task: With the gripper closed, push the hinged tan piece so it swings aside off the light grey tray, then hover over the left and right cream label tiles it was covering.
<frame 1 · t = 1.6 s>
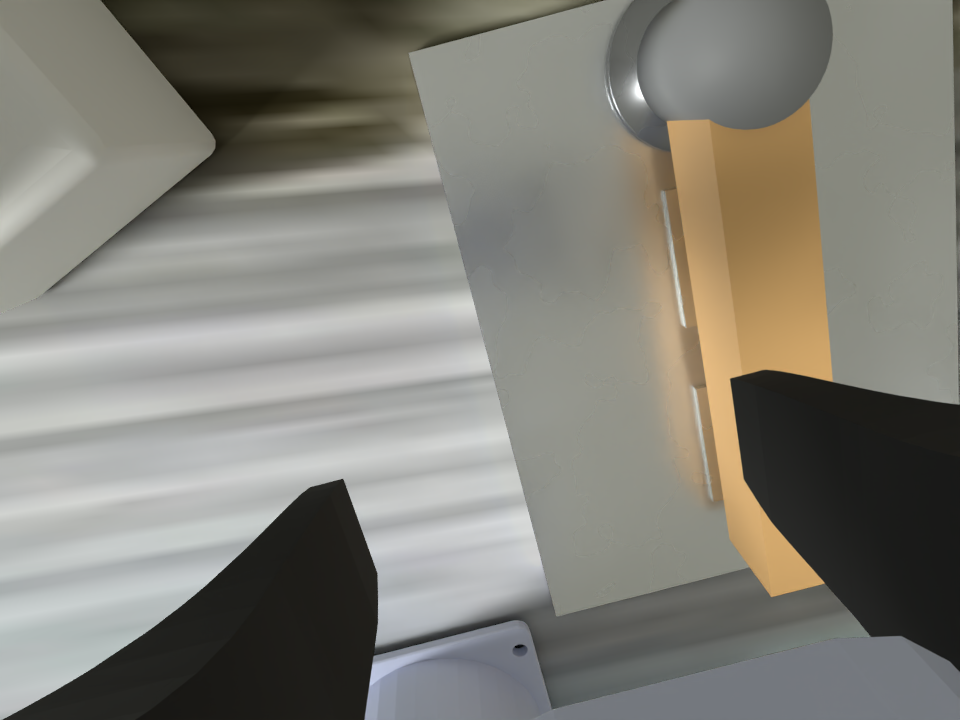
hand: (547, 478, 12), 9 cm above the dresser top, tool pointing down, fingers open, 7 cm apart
medicine bottle: (29, 115, 18), on the dresser top
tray: (715, 310, 21), on the dresser top
tan piece: (755, 309, 18), point 3 cm above the dresser top, hinge at 0.0°
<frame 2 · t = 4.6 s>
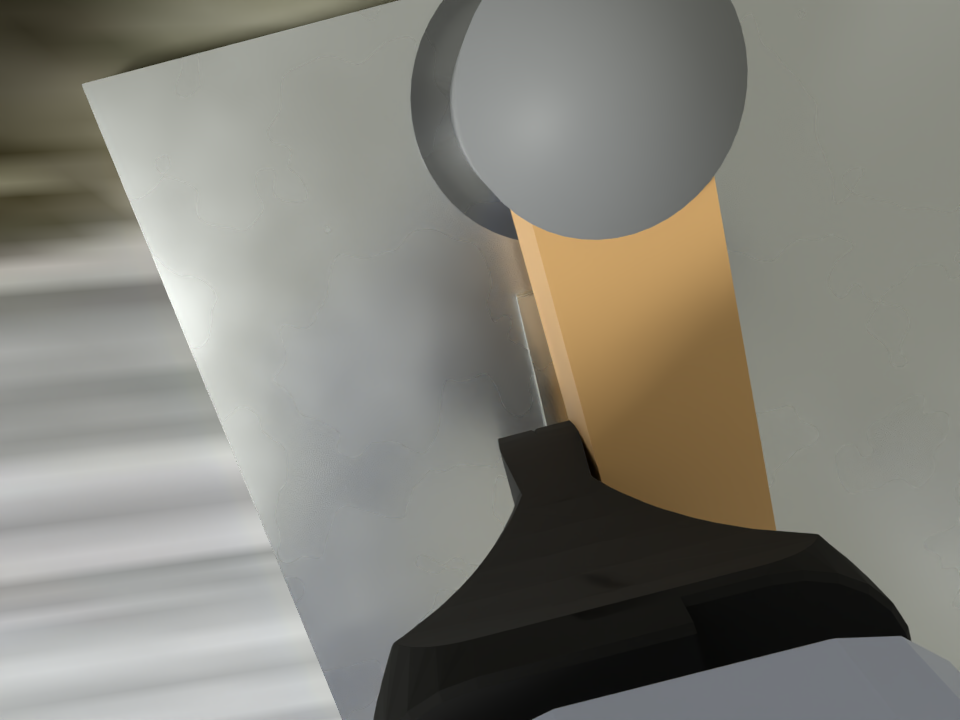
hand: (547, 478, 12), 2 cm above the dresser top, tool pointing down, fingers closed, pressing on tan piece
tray: (612, 459, 14), on the dresser top
tan piece: (667, 494, 11), point 3 cm above the dresser top, hinge at 2.9°, touching gripper
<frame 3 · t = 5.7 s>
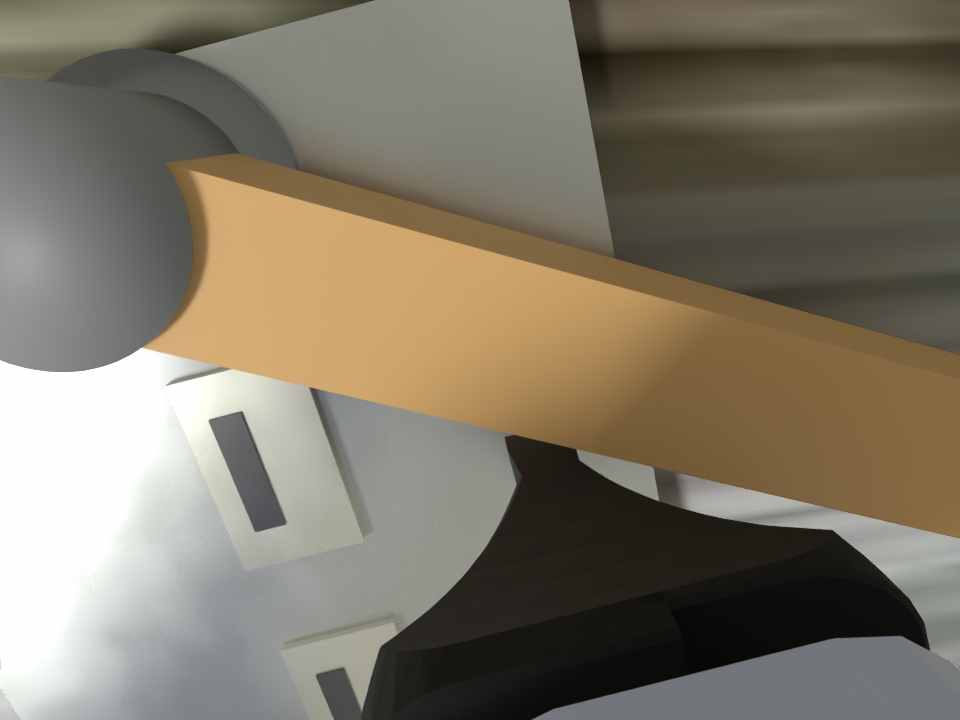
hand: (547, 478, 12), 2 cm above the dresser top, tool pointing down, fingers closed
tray: (311, 533, 14), on the dresser top
tan piece: (549, 331, 10), point 3 cm above the dresser top, hinge at 60.3°, touching gripper
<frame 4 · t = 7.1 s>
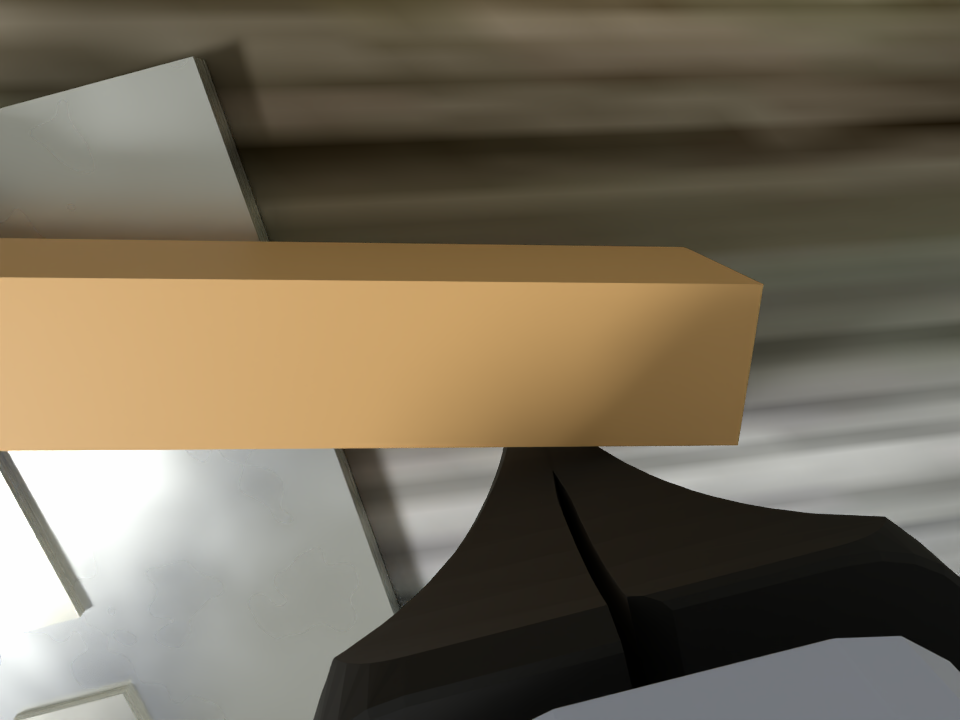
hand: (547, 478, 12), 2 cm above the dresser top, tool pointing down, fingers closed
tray: (43, 605, 14), on the dresser top
tan piece: (167, 334, 10), point 3 cm above the dresser top, hinge at 74.5°, touching gripper
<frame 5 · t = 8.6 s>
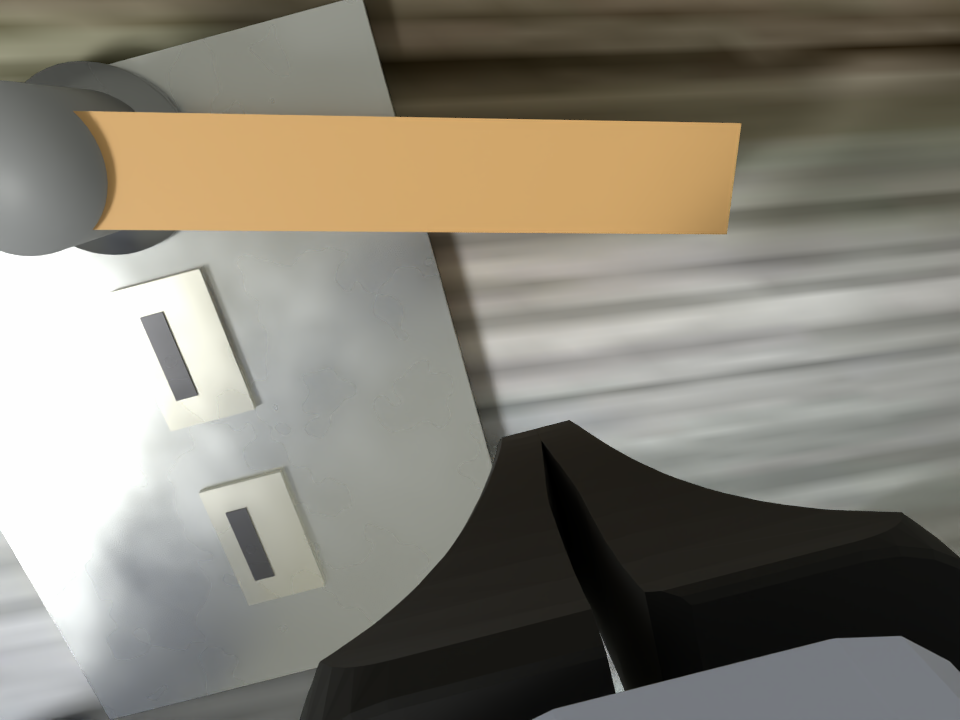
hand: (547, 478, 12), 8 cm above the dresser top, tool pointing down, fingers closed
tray: (221, 408, 19), on the dresser top
tan piece: (355, 170, 15), point 3 cm above the dresser top, hinge at 74.8°
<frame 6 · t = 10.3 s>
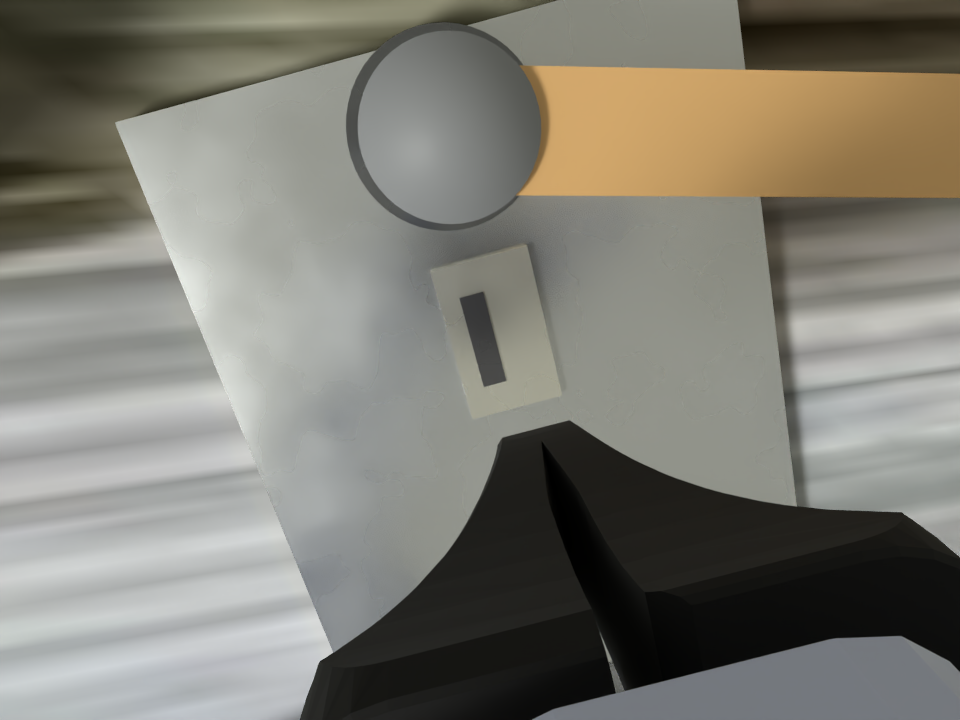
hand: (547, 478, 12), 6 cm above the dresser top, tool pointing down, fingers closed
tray: (513, 396, 18), on the dresser top
tan piece: (753, 135, 14), point 3 cm above the dresser top, hinge at 74.8°
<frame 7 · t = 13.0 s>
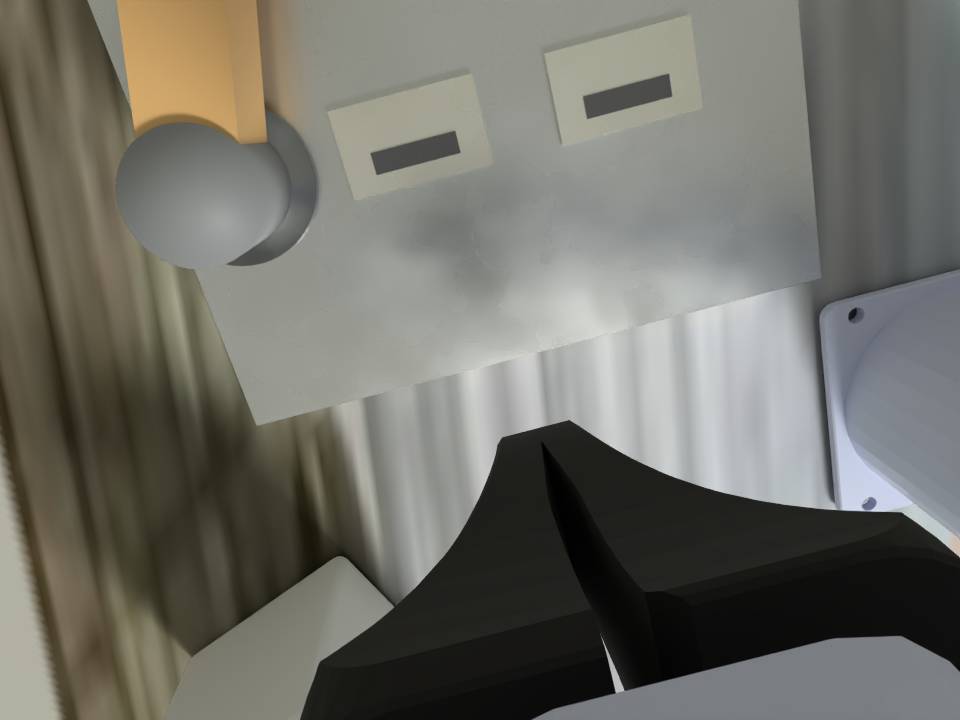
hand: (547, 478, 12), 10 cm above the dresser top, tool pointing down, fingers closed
medicine bottle: (330, 661, 25), on the dresser top
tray: (480, 119, 19), on the dresser top
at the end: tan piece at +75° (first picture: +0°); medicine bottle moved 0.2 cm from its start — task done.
